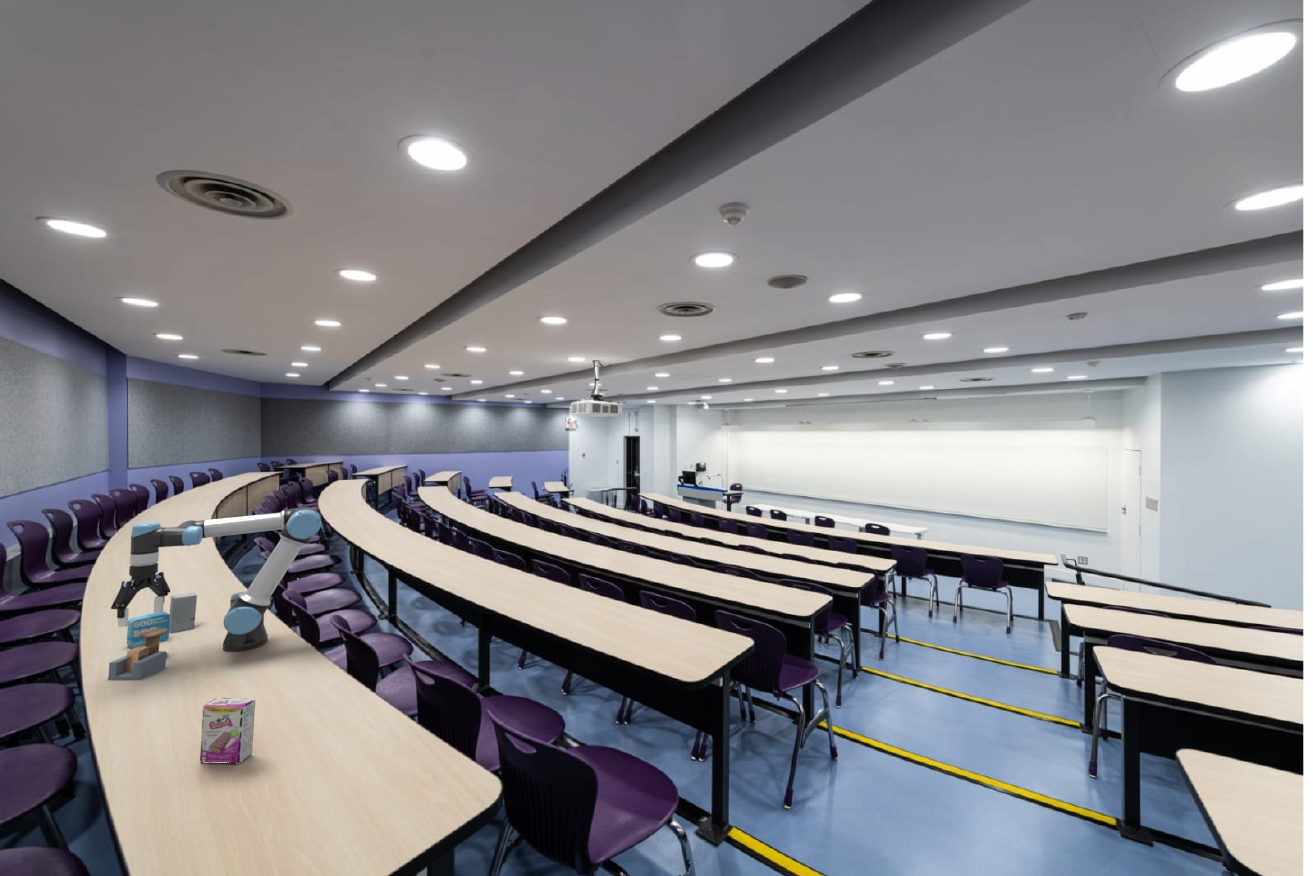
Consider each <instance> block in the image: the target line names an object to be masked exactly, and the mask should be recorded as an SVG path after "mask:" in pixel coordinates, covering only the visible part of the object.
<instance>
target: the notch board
mask: <svg viewBox="0 0 1313 876" xmlns="http://www.w3.org/2000/svg"><path fill="white" fill-rule="evenodd" d="M166 652H167V651H166V650H165V651H160V650H159V652H157V653H155V654H153V655H150V656H148V657H146V658H144V659H141V660H139V661H137V662H135V663H134V667H133V673H126V664H127V654H126V655H123V656H122V657H120V658H118V659H114V660H113V661H110V662H109V663H108V677H107V680H108V679H114V680H115V679H116V681H118V680H119V681H123V680H124V679H125V680H126V681H133V680H134V681H135V680H136V681H140V680H143V679H144V678H147V677H149V676H151V675H153V674H155V673H157V672H158V671H161V670H163V669H165V668H166V663H167V661H166V658H167V657H166ZM142 678H143V679H142ZM120 679H121V680H120ZM125 680H124V681H125Z"/></svg>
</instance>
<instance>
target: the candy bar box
mask: <svg viewBox="0 0 1313 876" xmlns="http://www.w3.org/2000/svg"><path fill="white" fill-rule="evenodd" d="M202 708H203V709H202V723H201V738H200V739H201V741H200V753H199V762H200V761H201V762H227V763H228V762H229V763H238V764H237V765H240V764H241V763H240V762H241V761H242V760H244V759H245V758H246V757H247V756H249V755H250V756H252V754H253V744H254V743H253V742H254V728H255V727H254V726H255V712H256V711H255V710H256V709H255V708H256V698H234V697H216V698H214V699H213V700H211V701H209V702H208V703H206V704H204V705H203V706H202ZM250 756H249V757H250ZM246 759H247V758H246ZM246 759H245V760H246ZM245 760H244V761H245ZM239 763H240V764H239Z"/></svg>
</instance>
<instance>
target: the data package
mask: <svg viewBox="0 0 1313 876" xmlns="http://www.w3.org/2000/svg"><path fill="white" fill-rule="evenodd" d="M169 614H170V613H167V612H166V611H163V613H161V614H157V613H154V612H153V613H149V614H145V615H144V614H143V615H139V616H134V617H132V618H129V619H128V626H127V630H126V631H127V634H126V635H127V636H126V644H127V646H128V647H130V648H132V649H134V648H136V647H145V639H146V638H139V637H138V635H139V633H140V632H143V631H146V630H149V629H155V628H166V629H167V633H165V634H163V635H160V641H159V643H162V642H165V641H167V640H168V639H169V637H170V631H169V628H170V615H169Z"/></svg>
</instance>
